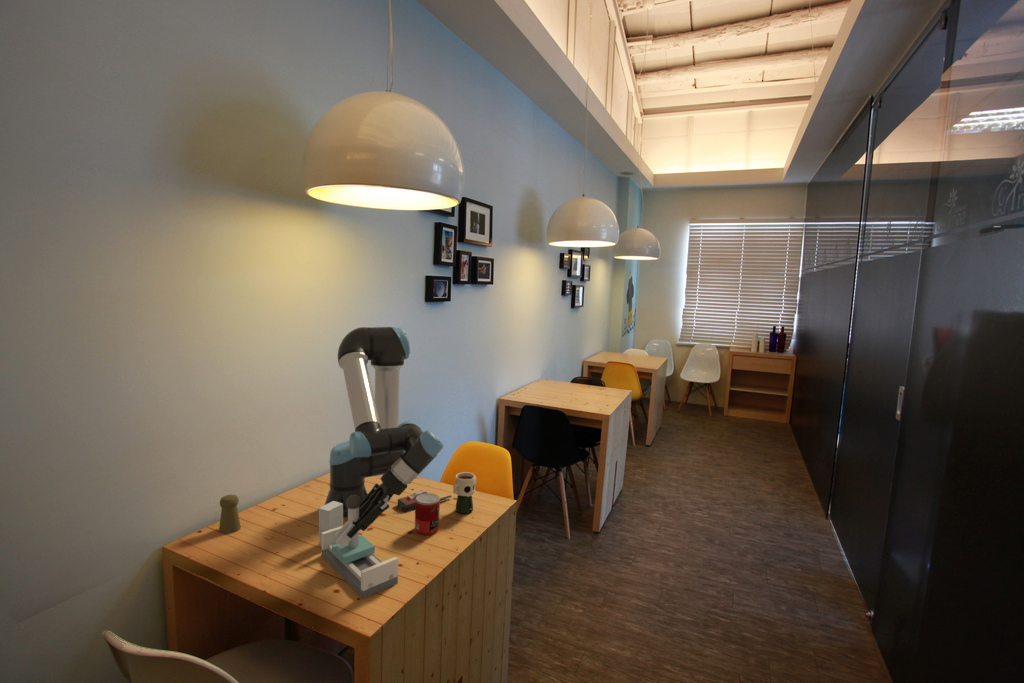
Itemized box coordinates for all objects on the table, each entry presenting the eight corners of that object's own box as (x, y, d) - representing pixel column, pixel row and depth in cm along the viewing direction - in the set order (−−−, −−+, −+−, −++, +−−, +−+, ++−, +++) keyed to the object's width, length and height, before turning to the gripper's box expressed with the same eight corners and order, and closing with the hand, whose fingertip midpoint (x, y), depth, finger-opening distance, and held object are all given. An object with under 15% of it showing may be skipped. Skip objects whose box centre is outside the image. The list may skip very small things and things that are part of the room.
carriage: (331, 552, 135) (331, 494, 133) (361, 541, 141) (362, 486, 140) (344, 564, 129) (344, 504, 128) (374, 552, 136) (375, 495, 134)
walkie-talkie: (405, 515, 166) (452, 500, 180) (406, 503, 166) (453, 489, 179) (393, 506, 173) (439, 492, 186) (393, 495, 172) (440, 482, 186)
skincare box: (333, 536, 150) (333, 500, 149) (343, 539, 148) (343, 503, 147) (318, 545, 145) (318, 507, 143) (328, 549, 143) (328, 511, 142)
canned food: (434, 537, 152) (434, 504, 151) (410, 533, 154) (411, 501, 153) (442, 525, 160) (443, 494, 158) (420, 522, 161) (420, 491, 160)
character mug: (460, 519, 165) (461, 483, 163) (446, 512, 169) (447, 477, 168) (481, 509, 173) (483, 474, 172) (468, 502, 178) (469, 469, 176)
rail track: (321, 555, 140) (321, 532, 139) (353, 543, 146) (354, 522, 146) (362, 598, 121) (363, 572, 120) (397, 583, 128) (398, 558, 127)
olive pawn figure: (216, 528, 152) (215, 496, 151) (237, 522, 156) (236, 490, 155) (222, 536, 148) (221, 502, 147) (243, 529, 152) (242, 496, 151)
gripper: (414, 495, 132) (351, 563, 127) (403, 474, 147) (346, 534, 142) (394, 479, 130) (330, 548, 125) (385, 459, 144) (327, 520, 139)
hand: (339, 540), depth 133 cm, fingers closed on carriage, 3 cm apart
